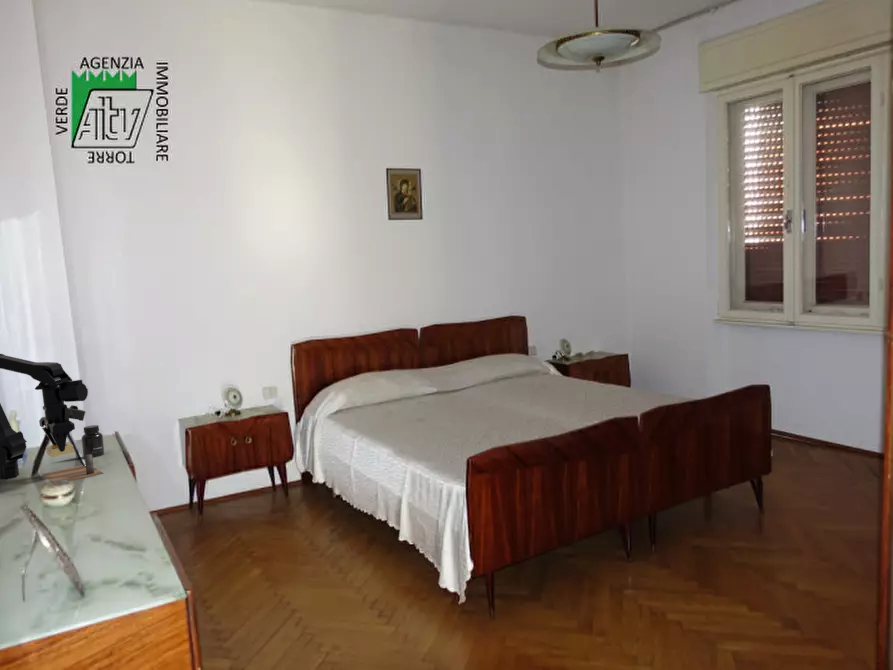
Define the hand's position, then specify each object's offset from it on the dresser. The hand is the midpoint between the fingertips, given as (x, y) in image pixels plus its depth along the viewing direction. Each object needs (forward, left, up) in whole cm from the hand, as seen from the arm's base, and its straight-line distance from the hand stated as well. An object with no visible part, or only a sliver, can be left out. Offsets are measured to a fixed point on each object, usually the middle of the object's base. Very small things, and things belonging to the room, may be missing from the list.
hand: (59, 449), depth 226 cm
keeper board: (+2, +2, -10) cm, 10 cm away
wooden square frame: (0, 0, -1) cm, 1 cm away
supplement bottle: (-18, +14, -10) cm, 25 cm away
